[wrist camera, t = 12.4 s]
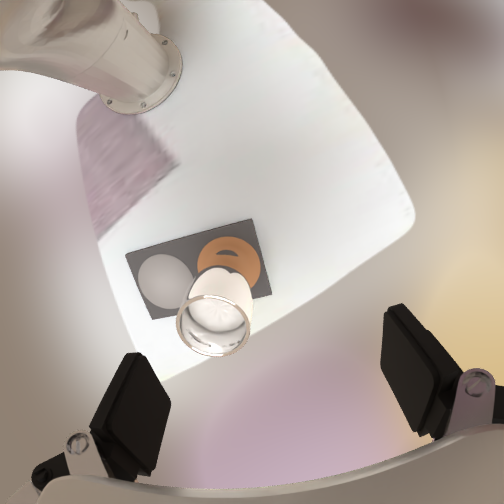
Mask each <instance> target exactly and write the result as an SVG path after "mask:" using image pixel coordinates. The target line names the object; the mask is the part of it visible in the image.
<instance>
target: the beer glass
mask: <svg viewBox="0 0 504 504" xmlns="http://www.w3.org/2000/svg"><path fill="white" fill-rule="evenodd" d="M249 272H250V263H249V259H248V257H247V256H246V254H245V253H244V252H243V251H242V250H241V249H239V248H237V247H235V246H231V245H222V246H219V247H217V248H215V249H213V250H212V251H211V252H210V253H209V254H208V256H207V258H206V262H205V268H204V269H203V270H202V271H200V272H199V273H198V274H197V275H196V276H195V278H194V279H193V280H192V281H191V283H190V284H189V286H188V288H187V290H186V292H185V294H184V297H183V299H182V302H181V305H180V309H179V311H178V314H177V317H176V328H177V332H178V334H179V336H180V338H181V339H182V341H183V342H184V343H185V344H186V345H187V346H188V347H189V348H191V349H192V350H194V351H195V352H197V353H200V354H202V355H206V356H211V357H223V356H227V355H231V354H233V353H235V352H237V351H238V350H240V349H241V348H242V347H243V346H244V345H245V344H246V342H247V340H248V338H249V335H250V326H251V321H252V313H253V297H252V292H251V288H250V285H249V282H248V280H247V277H248V275H249Z"/></svg>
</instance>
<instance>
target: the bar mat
mask: <svg viewBox="0 0 504 504" xmlns="http://www.w3.org/2000/svg"><path fill="white" fill-rule="evenodd" d="M222 245H231V246H235V247H237V248H239V249H241V250H242V251H243V252H244V253H245V254H246V256H247V257H248V259H249V263H250V272H249V275H248V277H247V280H248V282H249V285H250V288H251V292H252V297H253V299H255V298H260V297H264V296H268V295H272V292H271V288H270V285H269V281H268V277H267V273H266V270H265V266H264V262H263V258H262V255H261V251H260V247H259V243H258V240H257V236H256V232H255V229H254V225H253V221H252V219H249V220H246V221H242V222H238V223H234V224H230V225H227V226H223V227H219V228H215V229H212V230H208V231H204V232H201V233H197V234H193V235H190V236H186V237H183V238H179V239H176V240H172V241H169V242H165V243H162V244H158V245H155V246H151V247H148V248H145V249H141V250H138V251H134V252H131V253H128V254H126V255H125V257H126V259H127V262H128V264H129V267H130V269H131V272H132V274H133V277H134V279H135V282H136V284H137V286H138V289H139V291H140V293H141V296H142V298H143V300H144V303H145V305H146V307H147V309H148V311H149V314H150V316H151V318H152V320H153V319H159V318H164V317H170V316H175V315H177V314H178V311H179V309H180V305H181V302H182V299H183V297H184V294H185V292H186V290H187V288H188V286H189V284H190V283H191V281H192V280H193V279H194V278H195V276H196V275H197V274H198V273H199V272H200V271H202V270H203V269H204V268H205V262H206V258H207V256H208V254H209V253H210V252H211V251H212V250H213V249H215V248H217V247H219V246H222Z"/></svg>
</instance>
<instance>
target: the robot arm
mask: <svg viewBox="0 0 504 504" xmlns="http://www.w3.org/2000/svg"><path fill="white" fill-rule="evenodd" d="M166 44H167V45H166ZM0 70H18V71H25V72H31V73H36V74H40V75H44V76H47V77H51V78H54V79H57V80H61V81H64V82H67V83H70V84H73V85H76V86H79V87H82V88H85V89H88V90H91V91H93V92H96V93H99V95H100V98H101V99H102V101H103V103H104V104H105V105H106V106H107V107H108V108H110V109H111V110H113V111H115V112H118V113H121V114H126V115H134V114H139V113H143V112H146V111H148V110H150V109H152V108H154V107H156V106H157V105H159V104H160V103H161V102H163V101H164V100H165V99H166V98H167V97H168V96H169V95H170V94H171V92H172V91H173V89H174V88H175V86H176V84H177V82H178V80H179V78H180V74H181V71H182V59H181V54H180V52H179V50H178V48H177V47H176V45H175V44H174V43H173V42H172V41H171V40H170V39H168V38H167V37H165V36H162V35H159V34H150V33H149V32H148V31H147V30H146V29H145V28H144V26H143V25H142V24H141V23H140V22H139V20H138V15H137V13H131V12H130V11H129V10H128V9H127V8H126V7H125V6H124V5H123V4H122V3H121V2H120V1H119V0H0ZM173 75H175V76H174V77H173ZM146 104H147V105H146ZM145 105H146V107H145ZM380 365H381V369H382V372H383V374H384V375H385V378H386V380H387V381H388V383H389V385H390V387H391V389H392V391H393V393H394V395H395V397H396V399H397V401H398V403H399V405H400V407H401V409H402V411H403V413H404V415H405V417H406V419H407V421H408V423H409V425H410V427H411V429H412V431H413V432H417V433H418V435H419V437H421V436H424V435H426V434H428V433H429V434H430V436H431V438H433V440H432V442H431V443H429V444H427V445H424V446H422V447H419V448H417V449H415V450H412V451H410V452H407V453H405V454H402V455H399V456H397V457H394V458H391V459H389V460H385V461H382V462H380V463H377V464H373V465H371V466H367V467H364V468H361V469H357V470H353V471H350V472H346V473H342V474H339V475H334V476H330V477H325V478H321V479H315V480H310V481H305V482H298V483H292V484H285V485H277V486H268V487H257V488H242V489H194V488H193V489H192V488H178V487H167V486H157V485H149V484H142V483H139V482H138V480H137V475H142V476H151V472H152V470H154V469H155V467H156V463H157V459H158V455H159V451H160V447H161V442H162V439H163V435H164V431H165V427H166V423H167V419H168V416H169V412H170V408H171V401H170V398H169V396H168V395H167V393H166V392H165V390H164V388H163V386H162V385H161V383H160V381H159V380H158V378H157V376H156V374H155V373H154V371H153V369H152V367H151V365H150V363H149V362H148V360H147V358H146V357H145V356H143V355H142V354H141V353H139V352H137V353H127V354H126V355H125V356H124V358H123V360H122V362H121V364H120V365H119V367H118V369H117V371H116V373H115V375H114V377H113V379H112V381H111V383H110V385H109V387H108V389H107V391H106V392H105V394H104V397H103V398H102V401H101V402H100V404H99V407H98V409H97V411H96V413H95V415H94V417H93V419H92V421H91V423H90V425H89V427H90V428H91V431H90V433H89V432H88V431H86V430H77V431H74V432H73V433H71V434H70V435H69V436H68V437H67V438H66V440H65V441H64V445H63V447H64V452H63V453H61V454H59V455H57V456H55V457H53V458H51V459H49V460H47V461H45V462H43V463H41V464H39V465H38V466H36V468H35V469H34V470H33V473H32V477H31V478H32V482H31V481H30V480H28V481H27V482H26V483H25V484H24V485H23V486H22V487H20V488H19V489H18V490H17V491H16V492H15V493H14V494H12V495H11V496H10V497H9V498H8V499H7V501H6V503H5V504H504V386H498V385H495V380H494V378H493V376H492V375H491V374H490V373H489V372H488V371H486V370H484V369H480V368H473V369H470V370H467V371H466V372H463V371H462V370H461V368H460V367H459V366H458V365H457V363H456V362H455V361H454V360H453V358H452V357H451V356H450V355H449V353H448V352H447V351H446V350H445V349H444V347H443V346H442V345H441V344H440V343H439V341H438V340H437V339H436V338H435V337H434V336H433V334H432V333H431V332H430V331H429V330H426V329H425V328H424V327H423V325H421V323H420V322H419V321H418V320H417V319H416V317H415V316H414V315H413V314H412V313H411V312H410V311H409V309H407V307H406V306H405V305H404V304H402V303H401V304H397V305H394V306H391V307H389V308H388V310H387V312H385V313H384V321H383V337H382V350H381V361H380Z"/></svg>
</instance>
